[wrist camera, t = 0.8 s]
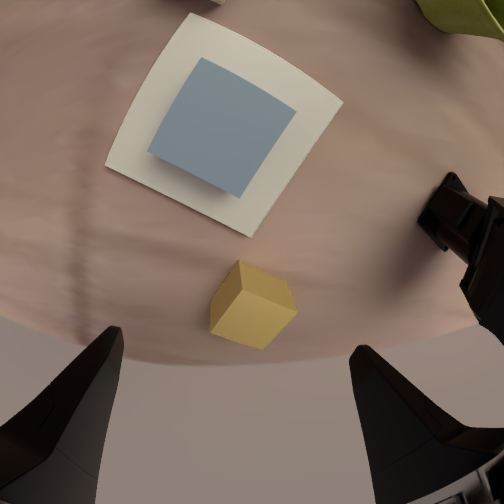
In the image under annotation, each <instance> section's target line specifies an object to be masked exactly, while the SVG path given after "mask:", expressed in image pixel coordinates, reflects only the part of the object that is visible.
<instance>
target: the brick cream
mask: <svg viewBox="0 0 504 504" xmlns="http://www.w3.org/2000/svg"><path fill="white" fill-rule="evenodd" d="M211 1H214V2H216V3H218V4H221V5H222V4H223V3H224V2H225V1H226V0H211Z"/></svg>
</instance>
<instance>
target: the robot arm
mask: <svg viewBox="0 0 504 504" xmlns="http://www.w3.org/2000/svg"><path fill="white" fill-rule="evenodd" d="M422 221H423V222H422ZM418 225H419V226H420V227H421V228H422V229H423V230H424V231H425V232H426V233H427V234H428V235H429V236H430V237H431V238H432V239H433V241H434V242H435V243H436V244H437V245H438V246H439V247H440V248H441V249H442V250H443V251H444V252H446V251H447V250H448V249H451V250H452V251H453V252H454V253H455V254H456V255H457V256H459V257H460V258H461V259H462V260H463V261H464V262H465V263H466V264H467V265H468V267H467V270H466V272H465V275H464V277H463V279H462V280H461V282H460V284H459V286H460V288H461V290H462V291H463V293H464V295H465V297H466V299H467V301H468V303H469V306H470V308H471V310H472V311H473V313H474V315H475V317H476V318H477V320H478V321H479V324H480V325H481V326H483V327H485V328H486V329H488V330H489V331H490V332H492V333H493V334H494V335H495V336H496V337H497V338H498V339H499V340H500V342H501V343H502V344H503V346H504V198H499V197H494V196H489V198H488V205H487V204H485V203H484V202H482V201H480V200H479V199H477V198H475V197H473V196H472V195H470V194H469V193H468V192H467V190H466V188H465V187H464V185H463V184H462V182H461V181H460V179H459V178H458V176H457V175H456V174H455V173H454V172H450V173H449V174H448V176H447V177H446V179H445V181H444V182H443V184H442V185H441V187H440V188H439V190H438V191H437V193H436V194H435V196H434V197H433V199H432V200H431V202H430V203H429V205H428V206H427V208H426V209H425V210H424V212H423V213H422V215H421V216H420V217H419V219H418ZM123 350H124V340H123V334H122V329H121V328H120V327H116V326H109V327H108V328H107V329H106V330H105V331H103V332H102V333H101V334H100V335H99V336H98V337H97V338H96V339H95V340H94V341H93V342H92V343H91V344H90V345H89V346H88V347H87V348H86V349H84V350H83V351H82V352H81V353H80V355H78V356H77V357H76V358H75V359H74V360H73V361H72V362H71V363H70V364H69V365H68V366H67V367H66V368H65V369H64V370H63V371H62V372H61V373H60V374H59V375H58V376H57V377H56V378H55V379H54V380H53V381H52V382H51V383H50V385H48V386H47V387H46V388H45V389H44V390H43V391H42V392H41V393H40V394H39V395H38V396H37V397H36V398H35V399H34V400H32V401H31V402H30V403H29V404H28V405H27V406H25V407H24V408H23V409H22V410H21V411H19V412H18V413H17V414H16V415H14V416H13V417H12V418H11V419H10V420H8V421H7V422H6V423H5V424H3V425H2V426H0V504H95V497H96V490H97V482H98V475H99V469H100V463H101V458H102V452H103V446H104V442H105V437H106V432H107V428H108V423H109V419H110V414H111V410H112V406H113V402H114V398H115V394H116V390H117V386H118V381H119V374H120V367H121V361H122V356H123ZM349 366H350V372H351V379H352V386H353V393H354V397H355V401H356V406H357V410H358V414H359V419H360V423H361V427H362V432H363V436H364V441H365V446H366V451H367V456H368V461H369V466H370V471H371V476H372V483H373V489H374V495H375V502H376V504H407V503H409V504H504V428H475V427H468V426H465V425H463V424H462V423H460V422H459V421H457V420H456V419H455V418H453V417H452V416H451V415H449V414H448V413H446V412H445V411H444V410H442V409H441V408H440V407H439V406H437V405H436V404H435V403H434V402H433V401H431V400H430V399H429V398H428V397H427V396H426V395H424V394H423V393H422V392H421V391H420V390H419V389H418V388H416V387H415V386H414V385H413V384H412V383H411V382H410V381H408V380H407V379H406V378H405V377H404V376H403V375H402V374H400V373H399V372H398V371H397V370H396V369H395V368H394V367H392V366H391V365H390V364H389V363H388V362H387V361H385V360H384V359H383V358H382V357H381V356H380V355H379V354H378V353H377V352H375V351H374V350H373V349H372V348H371V347H370V346H368V345H358V346H357V347H356V349H355V350H354V352H353V353H352V355H351V356H350V359H349Z"/></svg>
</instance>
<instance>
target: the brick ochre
mask: <svg viewBox="0 0 504 504" xmlns="http://www.w3.org/2000/svg"><path fill="white" fill-rule="evenodd" d="M297 313H298V311H297V308H296V305H295V302H294V299H293V296H292V293H291V291H290V288H289V285H288V283H287V282H285V281H283V280H281V279H279V278H276V277H274V276H272V275H270V274H268V273H266V272H264V271H262V270H260V269H257V268H255V267H253V266H251V265H249V264H247V263H245V262H243V261H241V260H238V262H237V263H236V265H235V266H234V268H233V269H232V270H231V272H230V273H229V275H228V276H227V278H226V279H225V281H224V282H223V284H222V285H221V287H220V288H219V289H218V291H217V292H216V294H215V295H214V297H213V298H212V300H211V301H210V333H212V334H214V335H217V336H220V337H223V338H226V339H229V340H232V341H235V342H238V343H241V344H244V345H247V346H250V347H253V348H256V349H260V350H263V349H264V348H265V347H266V346H267V345H268V344H269V343H270V342H271V341H272V340H273V339H274V338H275V337H276V336H277V335H278V334H279V332H280V331H281V330H282V329H283V328H284V327H285V326H286V325H287V324H288V323H289V322H290V321H291V320H292V319H293V317H294V316H295V315H296V314H297Z"/></svg>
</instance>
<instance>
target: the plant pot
mask: <svg viewBox="0 0 504 504" xmlns="http://www.w3.org/2000/svg"><path fill="white" fill-rule="evenodd" d="M415 1H416V2H417V3H418V5H419V6H420V8H421V10H422V13H423V15H424V16H425V17H426V19H427V20H428V21H429V22H430V23H431V24H433V25H434V26H435V27H436V28H438V29H439V30H441V31H443V32H446V33H456V34H467V35H475V36H483V37H489V38H494V39H499V40H501V41H502V42H504V0H415Z"/></svg>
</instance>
